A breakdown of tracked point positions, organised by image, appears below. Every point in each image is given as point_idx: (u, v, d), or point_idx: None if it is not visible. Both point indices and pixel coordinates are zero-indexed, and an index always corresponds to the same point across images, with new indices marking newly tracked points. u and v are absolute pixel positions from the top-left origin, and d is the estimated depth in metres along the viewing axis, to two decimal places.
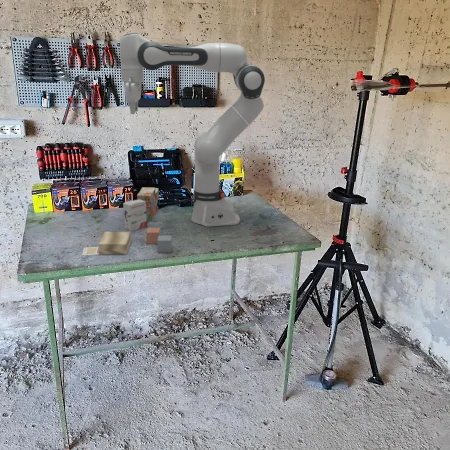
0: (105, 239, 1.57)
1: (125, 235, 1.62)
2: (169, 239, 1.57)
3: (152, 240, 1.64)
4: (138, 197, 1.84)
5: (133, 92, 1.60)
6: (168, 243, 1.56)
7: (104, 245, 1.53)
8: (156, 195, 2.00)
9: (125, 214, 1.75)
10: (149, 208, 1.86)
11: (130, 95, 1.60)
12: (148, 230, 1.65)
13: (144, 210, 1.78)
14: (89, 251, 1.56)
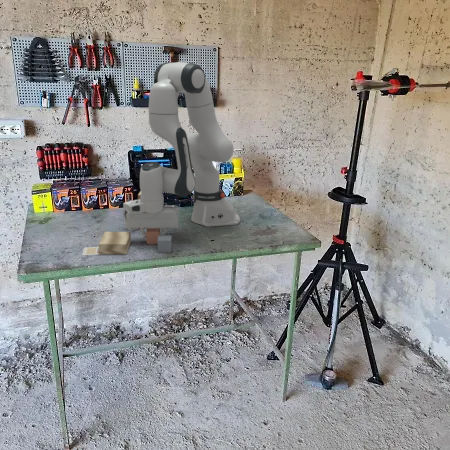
0: (105, 239, 1.57)
1: (125, 235, 1.62)
2: (169, 239, 1.57)
3: (152, 240, 1.64)
4: (139, 197, 1.85)
5: None
6: (168, 243, 1.56)
7: (104, 245, 1.53)
8: None
9: (125, 214, 1.75)
10: None
11: None
12: (148, 230, 1.65)
13: None
14: (89, 251, 1.56)
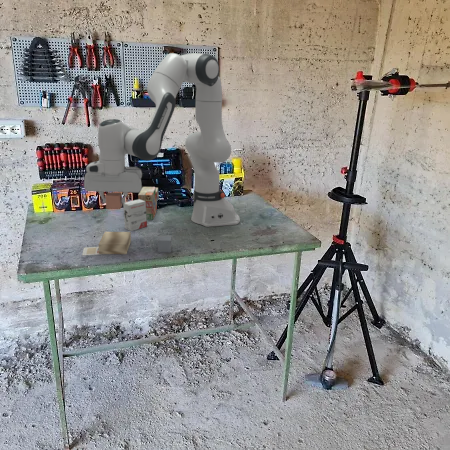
0: (105, 239, 1.57)
1: (125, 235, 1.62)
2: (169, 239, 1.57)
3: (112, 205, 1.51)
4: (139, 196, 1.85)
5: (140, 180, 1.53)
6: (168, 243, 1.56)
7: (104, 245, 1.53)
8: (156, 194, 2.00)
9: (125, 214, 1.75)
10: (150, 207, 1.87)
11: (140, 183, 1.52)
12: (108, 194, 1.52)
13: (144, 210, 1.78)
14: (89, 251, 1.56)
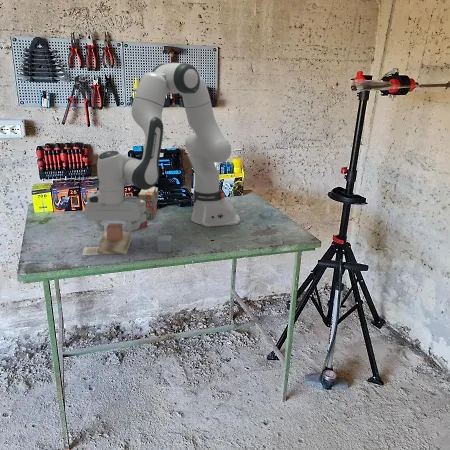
0: (105, 239, 1.57)
1: (125, 235, 1.62)
2: (169, 239, 1.57)
3: (113, 236, 1.56)
4: (139, 196, 1.86)
5: (139, 208, 1.57)
6: (168, 243, 1.56)
7: (104, 245, 1.53)
8: (156, 194, 2.01)
9: None
10: (150, 207, 1.88)
11: (140, 211, 1.56)
12: (109, 225, 1.57)
13: (144, 210, 1.78)
14: (89, 251, 1.56)
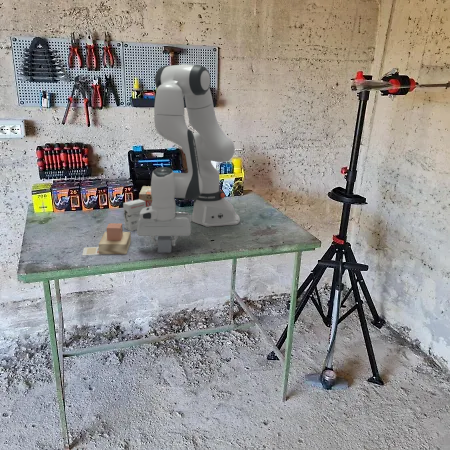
0: (105, 239, 1.57)
1: (125, 235, 1.62)
2: (169, 239, 1.57)
3: (113, 236, 1.56)
4: (140, 196, 1.86)
5: None
6: (168, 243, 1.56)
7: (104, 245, 1.53)
8: None
9: (125, 214, 1.75)
10: None
11: (190, 227, 1.57)
12: (109, 225, 1.57)
13: None
14: (89, 251, 1.56)
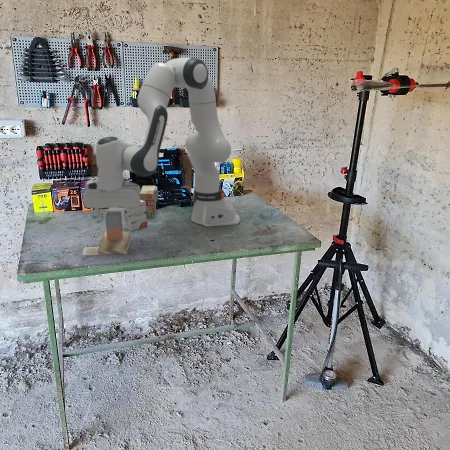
0: (105, 239, 1.57)
1: (125, 235, 1.62)
2: (118, 214, 1.54)
3: (113, 236, 1.56)
4: (140, 195, 1.87)
5: None
6: (116, 218, 1.53)
7: (104, 245, 1.53)
8: (156, 193, 2.02)
9: None
10: (151, 206, 1.89)
11: (139, 199, 1.54)
12: None
13: (144, 210, 1.78)
14: (89, 251, 1.56)
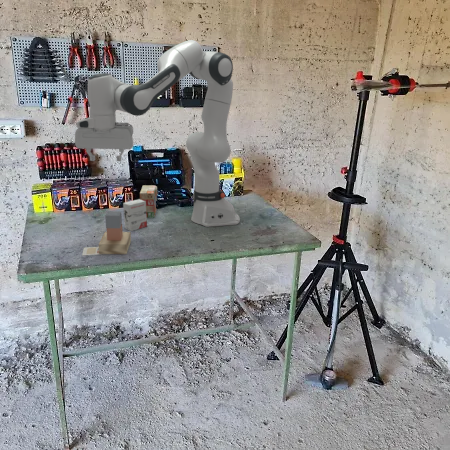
0: (105, 239, 1.57)
1: (125, 235, 1.62)
2: (118, 214, 1.54)
3: (113, 236, 1.56)
4: (141, 195, 1.87)
5: None
6: (116, 218, 1.53)
7: (104, 245, 1.53)
8: (156, 193, 2.03)
9: (125, 214, 1.75)
10: (152, 205, 1.90)
11: (132, 140, 1.50)
12: None
13: (144, 210, 1.78)
14: (89, 251, 1.56)
